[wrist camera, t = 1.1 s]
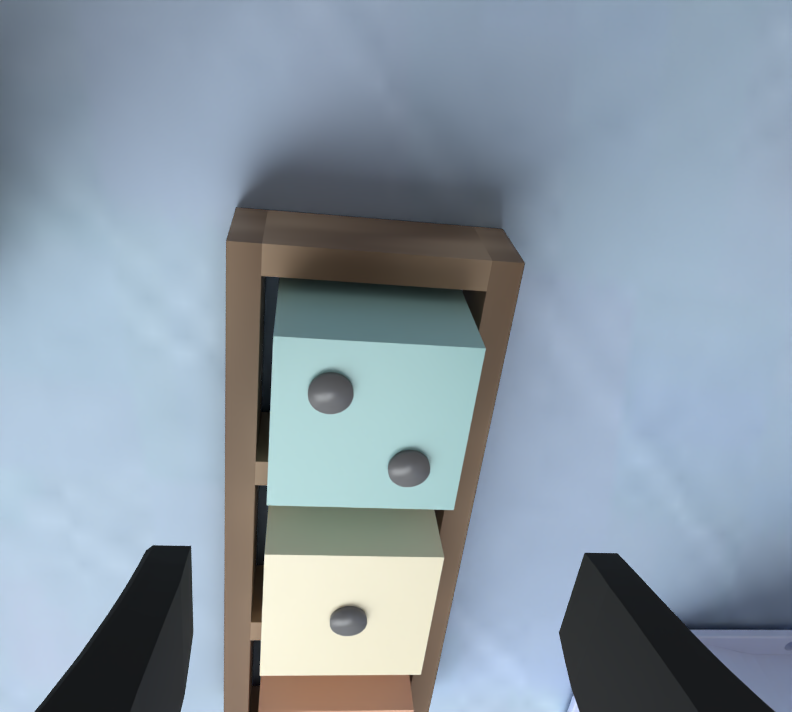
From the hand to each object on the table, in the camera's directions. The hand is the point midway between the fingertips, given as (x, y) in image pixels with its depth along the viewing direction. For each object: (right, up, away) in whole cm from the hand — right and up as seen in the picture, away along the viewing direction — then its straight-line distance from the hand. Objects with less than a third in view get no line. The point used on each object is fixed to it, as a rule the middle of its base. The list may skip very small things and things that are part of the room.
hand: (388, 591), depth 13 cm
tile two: (-1, +4, +7) cm, 8 cm away
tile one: (-2, -1, +10) cm, 10 cm away
